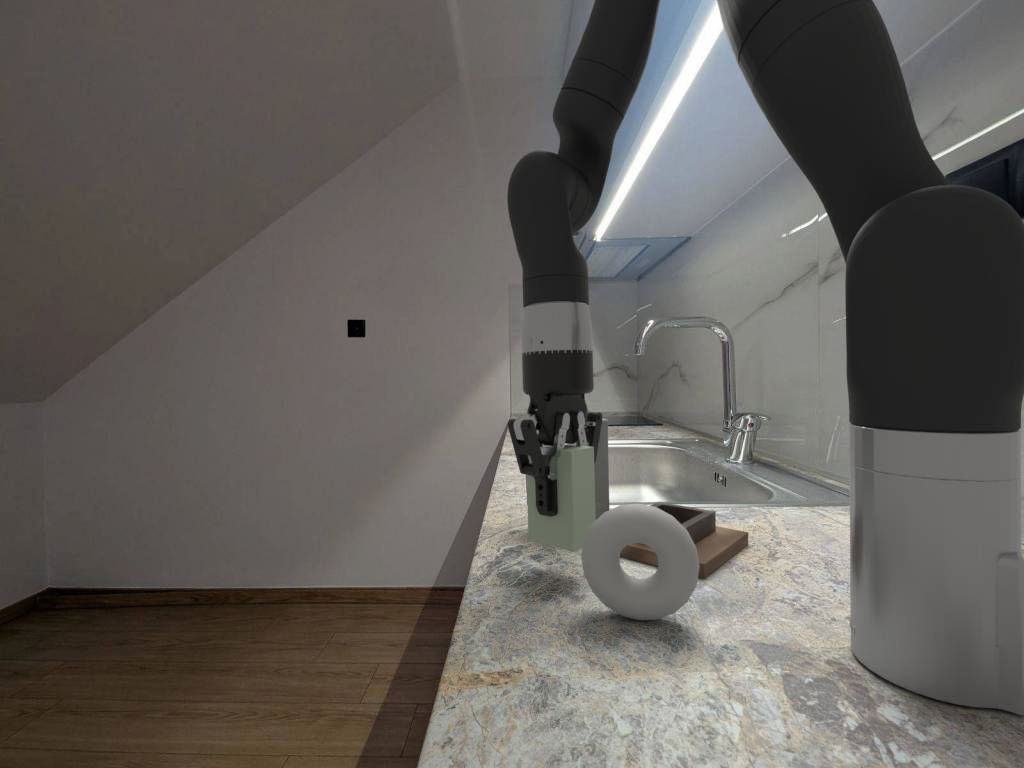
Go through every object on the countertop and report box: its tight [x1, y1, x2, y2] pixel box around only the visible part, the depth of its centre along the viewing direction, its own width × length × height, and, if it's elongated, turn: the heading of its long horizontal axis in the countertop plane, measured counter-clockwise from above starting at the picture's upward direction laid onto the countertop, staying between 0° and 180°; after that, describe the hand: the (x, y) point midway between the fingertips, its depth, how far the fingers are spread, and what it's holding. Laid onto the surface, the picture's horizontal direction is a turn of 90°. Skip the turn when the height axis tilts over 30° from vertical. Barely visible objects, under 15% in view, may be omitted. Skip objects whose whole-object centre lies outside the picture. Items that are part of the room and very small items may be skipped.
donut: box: [580, 503, 700, 621], centre depth 43 cm, size 10×4×10 cm, turn 74°
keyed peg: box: [526, 445, 596, 553], centre depth 52 cm, size 6×4×10 cm, turn 47°
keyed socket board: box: [620, 501, 749, 579], centre depth 61 cm, size 14×14×4 cm
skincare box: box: [587, 417, 610, 520], centre depth 67 cm, size 8×7×16 cm
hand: (561, 509), depth 52 cm, fingers closed on keyed peg, 4 cm apart
